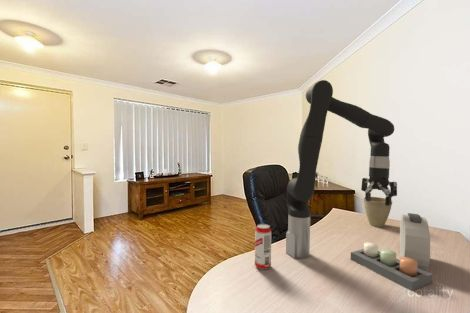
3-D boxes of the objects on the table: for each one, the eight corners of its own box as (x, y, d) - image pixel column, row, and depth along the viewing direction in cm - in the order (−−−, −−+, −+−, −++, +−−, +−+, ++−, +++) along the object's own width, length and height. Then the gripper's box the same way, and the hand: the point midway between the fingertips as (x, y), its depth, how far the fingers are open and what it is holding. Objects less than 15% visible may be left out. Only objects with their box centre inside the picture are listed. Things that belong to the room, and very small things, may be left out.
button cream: (372, 259, 90) (372, 248, 90) (360, 254, 95) (361, 243, 94) (380, 257, 92) (380, 246, 92) (368, 251, 97) (369, 241, 96)
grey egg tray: (411, 291, 74) (412, 282, 74) (350, 259, 95) (350, 252, 95) (432, 282, 79) (432, 274, 79) (369, 254, 100) (369, 247, 100)
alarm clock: (429, 276, 83) (431, 223, 82) (403, 270, 86) (405, 219, 86) (419, 254, 101) (421, 210, 100) (399, 250, 105) (400, 207, 104)
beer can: (260, 272, 85) (261, 229, 84) (251, 264, 90) (252, 224, 90) (274, 268, 87) (274, 227, 87) (264, 260, 93) (265, 222, 92)
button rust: (411, 277, 77) (412, 264, 77) (396, 270, 82) (396, 258, 82) (420, 274, 79) (420, 262, 79) (404, 267, 84) (405, 255, 84)
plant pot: (359, 224, 139) (360, 199, 139) (367, 219, 150) (368, 195, 149) (387, 231, 128) (388, 203, 128) (394, 225, 139) (395, 199, 138)
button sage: (390, 267, 84) (390, 255, 83) (377, 261, 88) (377, 250, 88) (398, 265, 86) (399, 253, 86) (385, 259, 90) (385, 248, 90)
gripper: (358, 165, 104) (357, 200, 105) (391, 168, 92) (389, 207, 92) (369, 165, 108) (367, 199, 108) (401, 167, 95) (400, 206, 95)
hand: (377, 203), depth 100 cm, fingers open, 8 cm apart
